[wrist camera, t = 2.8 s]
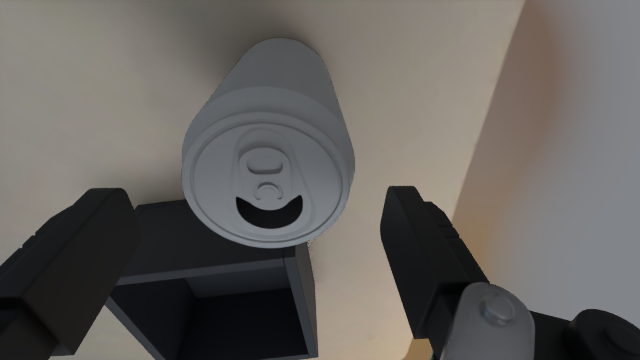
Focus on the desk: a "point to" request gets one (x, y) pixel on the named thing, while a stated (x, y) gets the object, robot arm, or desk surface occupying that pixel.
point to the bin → (214, 293)
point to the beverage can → (270, 150)
